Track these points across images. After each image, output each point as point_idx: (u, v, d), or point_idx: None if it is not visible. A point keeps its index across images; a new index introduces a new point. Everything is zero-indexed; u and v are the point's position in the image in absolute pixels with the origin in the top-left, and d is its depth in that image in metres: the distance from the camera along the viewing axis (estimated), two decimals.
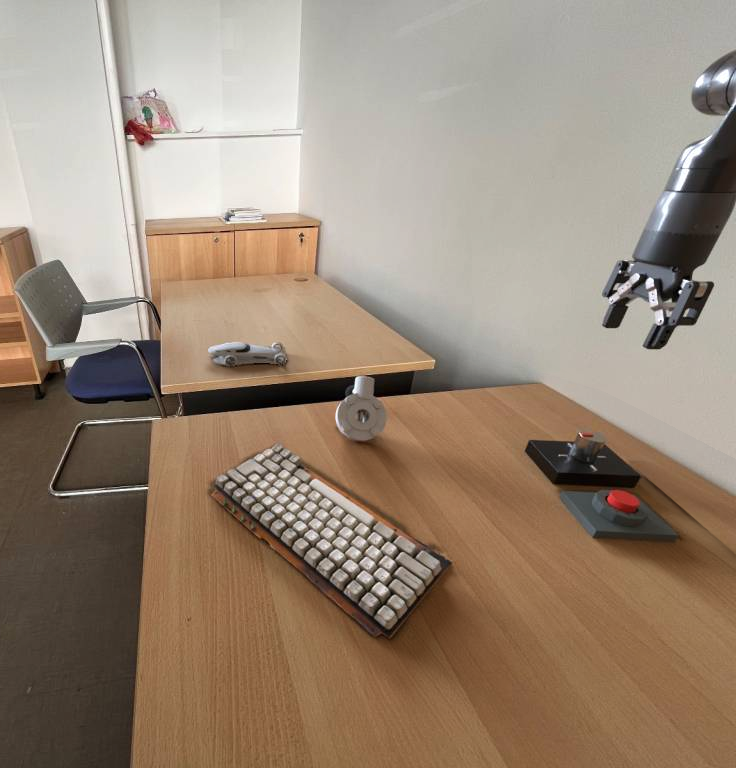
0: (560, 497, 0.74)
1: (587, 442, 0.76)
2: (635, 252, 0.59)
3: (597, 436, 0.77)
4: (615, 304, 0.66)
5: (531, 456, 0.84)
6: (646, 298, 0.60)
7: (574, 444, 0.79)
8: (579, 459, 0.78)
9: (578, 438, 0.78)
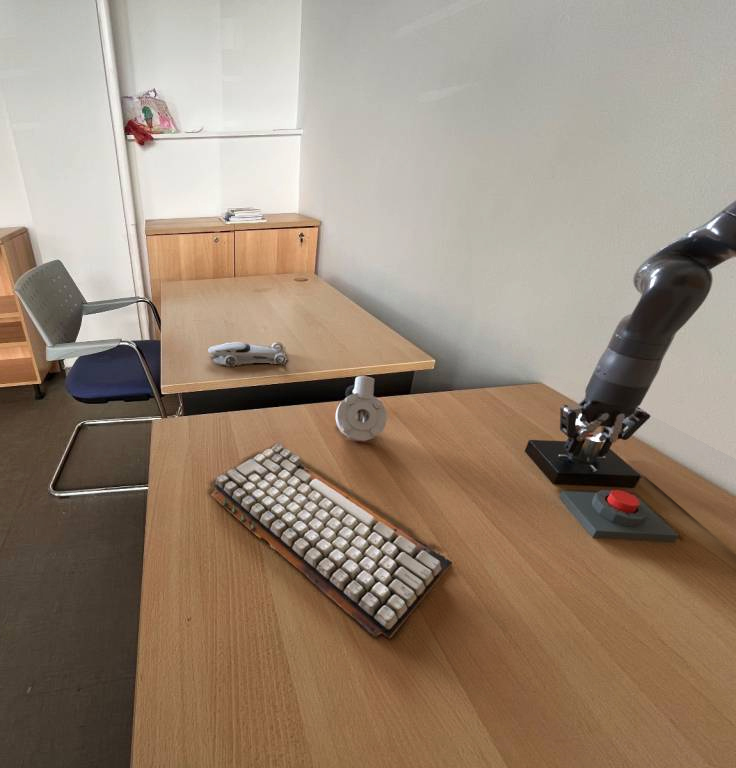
0: (560, 497, 0.74)
1: (587, 442, 0.76)
2: None
3: (597, 436, 0.77)
4: None
5: (531, 456, 0.84)
6: None
7: None
8: (579, 459, 0.78)
9: None
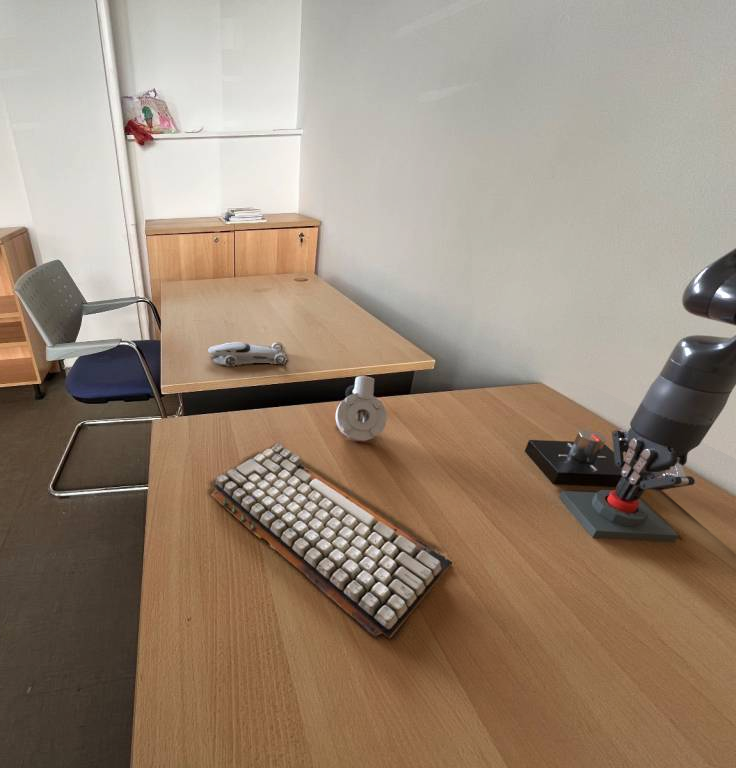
0: (560, 497, 0.74)
1: None
2: (633, 423, 0.62)
3: (591, 433, 0.77)
4: (628, 477, 0.66)
5: (531, 456, 0.84)
6: None
7: (591, 452, 0.77)
8: (595, 460, 0.78)
9: (596, 446, 0.76)
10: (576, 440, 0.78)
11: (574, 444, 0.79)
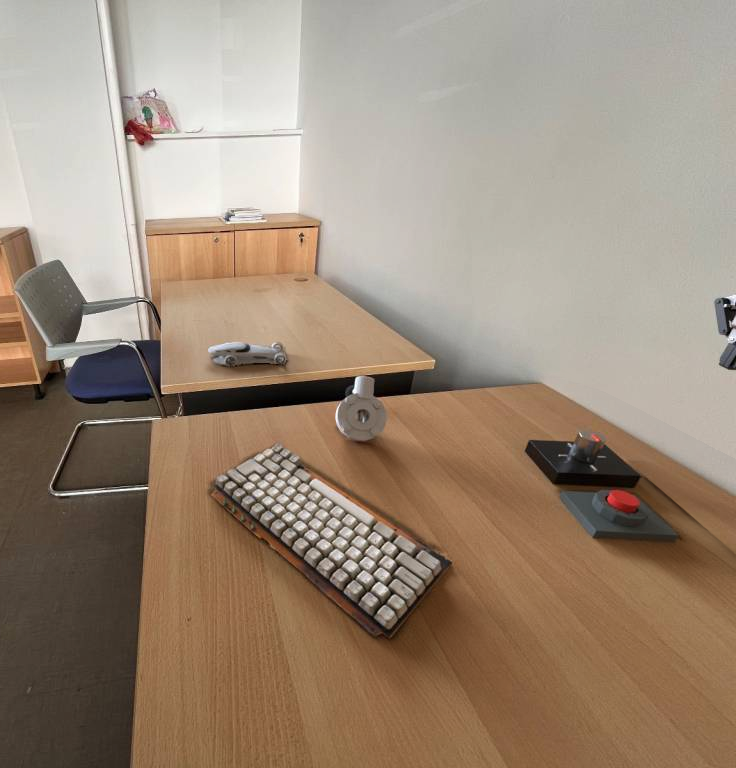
0: (560, 497, 0.74)
1: None
2: None
3: (591, 433, 0.77)
4: None
5: (531, 456, 0.84)
6: None
7: (591, 452, 0.77)
8: (595, 460, 0.78)
9: (596, 446, 0.76)
10: (576, 440, 0.78)
11: (574, 444, 0.79)
